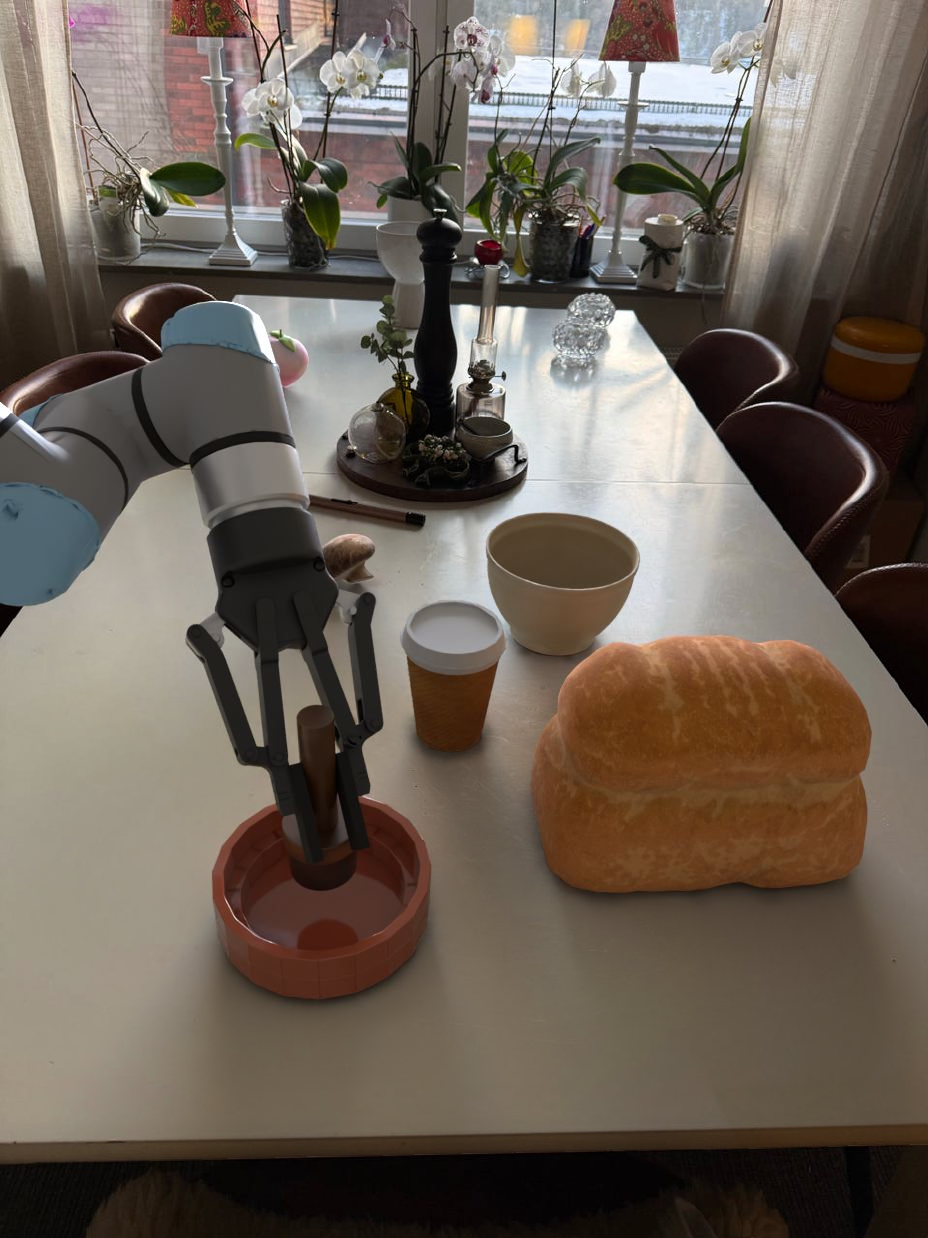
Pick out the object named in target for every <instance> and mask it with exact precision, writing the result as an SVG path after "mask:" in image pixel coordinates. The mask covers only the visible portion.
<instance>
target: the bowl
mask: <svg viewBox="0 0 928 1238" xmlns="http://www.w3.org/2000/svg"><path fill="white" fill-rule="evenodd" d="M337 795H338V793H337ZM358 798H359V802H360V806H361V810H362V815H363V819H364V823H365V827H366V831H367V835H368V839H369V843H370V847H369V848H366V849H363V850H357V867H356V870H355V873H354V874H353V876H352V877H351V879H350V880H349V881H348V882H346V883H345V884H344V885H342V886H340V887H338V888H335V889H332V890H328V891H314V890H310V889H307V888H304V887H302V886H301V885H299V884H298V883H297V882H296V881H295V880H294V878H293V877H292V874H291V871H290V861H289V853H288V851H287V850H286V848H285V846H284V842H283V831H282V820H283V817H282V816H281V814H280V813H279V811H278V810H277V805H276V802H275V803H272V804H269V805H267V806H265V807H263V808H262V809H260V810H258V811H257V812H255V813H254V814H253V815H251V816H250V817H248V818H247V819H245V820H243V821H242V822H241V823H239V825H238V826H237V827H236V828H235V829H234V831H233V832H232V833H231V834H230V836H229V837H228V838H227V839H226V840H225V842H223V844H222V845H221V846H220V847H221V848H220V850H219V853H218V855H217V858H216V860H215V863H214V865H213V868H212V870H211V885H212V887H211V888H212V904H213V910H214V916H215V924H216V930H217V937H218V939H219V942H220V943H221V946H222V948H223V950H224V952H225V954H226V956H227V958H228V960H229V962H230V963H231V964H232V965H233V966H235V968H236V969H237V970H239V972H241V973H242V974H243V975H244V976H245V977H246V978H247V979H249V981H250V982H252V983H253V984H254V985H257V986H259V987H261V988H263V989H267V991H268V990H269V991H271V992H274V993H276V994H278V995H280V996H282V997H290V998H301V999H308V1000H309V999H310V1000H324V999H330V998H335V997H341V996H346V995H351V994H352V995H353V994H356V993H359V992H361V991H364V990H365V989H368V988H370V987H372V986H374V985H376V984H378V983H380V982H382V981H384V980H386V979H388V978H389V977H391V975H393V973H394V972H396V970H398V969H399V967H401V966H402V965H403V964H404V963H405V962H407V961H408V960H409V958H411V957H412V956H413V954H414V952H415V950H416V948H417V947H418V945H419V943H420V941H421V939H422V937H423V936H424V934H425V932H426V929H427V927H428V919H429V911H430V904H431V882H432V863H431V858H430V855H429V852H428V848H427V843H426V841H425V839H424V838H423V837H422V835H421V834H420V833H419V831H418V830H417V829H416V827H415V826H414V825H413V823H412V822H411V820H410V819H408V817H406V816H405V815H403V814H401V813H400V812H399V811H398V810H396V809H394V808H393V807H392V806H390V805H389V804H388V803H385V802H382V801H379V800H376V799H373V798H371V797H367V796H365V795H362V796H359V797H358Z"/></svg>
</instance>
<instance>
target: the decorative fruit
mask: <svg viewBox="0 0 928 1238" xmlns="http://www.w3.org/2000/svg"><path fill="white" fill-rule="evenodd" d="M268 334H269V336H268V339H269V343H270V346H271V349H272V352H273V356H274V359H275V362H276V364H278V366H279V370H280V380H281V384H282V388H285V387H288V386H289V385H292V384H293V383H295V382H297V381H298V380H299V379H301V378H302V376H303V375H304V373H305V372H306V370H307V368H308V365H309V359H310V358H309V353H308V351H307V349H306V348H305V346H304V345H303V344H302V343H301V342H300V341H299V340H297V339H295V338H293V337H290V336H289V335H286V334H285V333H284V332H282V328H280V329H279V330H271V331H270V332H268Z"/></svg>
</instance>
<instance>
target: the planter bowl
mask: <svg viewBox="0 0 928 1238" xmlns="http://www.w3.org/2000/svg"><path fill="white" fill-rule="evenodd" d="M637 546H638V545H637V544H636V543H635V542H634V541H633V539H632V538H631V537H630V536H629V535H627V534H626V533H625V532H623V531H622V530H620V529H619V528H617V527H615V526H613V525H611V524H609V523H608V522H607V523H606V522H604V521H602V520H599V519H597V518H593V517H590V516H587V515H586V516H585V515H582V514H581V515H580V514H577V513H568V512H567V513H566V512H556V511H541V512H531V513H530V512H529V513H524V514H520V515H516V516H514V517H513V516H512V517H510V518H508V519H505V520H504V521H502V522H500V523H498V524H497V525H496V526H494V527H493V528H492V529H491V531H490V532H489V533H488V536H487V537H486V541H485V555H486V556H485V557H486V559H487V560H486V561H487V562H486V568H487V569H486V571H487V572H486V573H487V579H488V585H489V589H490V594H491V596H492V598H493V601H494V603H495V606H496V607H497V609H498V611H499V613H500V615H501V616H502V618H503V619H504V621H505V622H506V623H507V625H508V626H509V632H510V635H511V636H512V638H513V639H514V641H516V642H517V643H518V644H519V645H521V646H522V647H524V648H526V649H528V650H530V651H532V652H535V653H539V654H543V655H547V656H557V657H558V656H559V657H560V656H570V655H571V656H572V655H575V654H578V653H581V652H584V651H586V650H587V649H588V648H589V647H590V646H592V644H593V643H594V641H595V639H596V637H597V636H598V635H600V634H601V633H602V632H603V631H605V630H606V629H607V628H608V627H609V626H610V625H611V624H612V622H613V621H614V620H615V619H616V618H617V616H618V615H619V613H621V611H622V610H623V607H625V604H626V602H627V601H628V598H629V596H630V593H631V590H632V587H633V584H634V580H635V577H636V575H637V573H638V571H639V568H640V563H641V555H640V552H639V548H638V547H637Z"/></svg>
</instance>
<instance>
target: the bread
mask: <svg viewBox="0 0 928 1238" xmlns="http://www.w3.org/2000/svg"><path fill="white" fill-rule="evenodd" d="M872 736H873V731H872V728H871V723H870V719H869V716H868V712H867V710H866V708H865V705H864V703H863V701H862V700H861V698H860V696H859V695H858V693H857V692H856V690H855V689H854V687H853V686H852V685H851V684H850V682H849V681H848V679H847V678H846V676H845V675H844V674H843V672H841V670H840V669H839V668H838V667H837V666H836V665H835V664H834V663H833V662H832V661H831V660H830V659H829V658H828V657H827V656H826V655H825V654H824V653H822V652H820V651H819V650H817V649H815V648H813V647H812V646H810V645H807V644H804V643H802V642H799V641H795V640H792V639H783V640H782V639H781V640H780V639H779V640H768V641H763V642H758V643H757V642H753V641H751V640H748V639H743V638H738V637H734V636H730V635H724V634H723V635H675V636H669V637H668V636H667V637H664V638H659V639H656V640H653V641H650V642H647V643H642V644H638V645H636V644H632V643H628V642H623V641H614V642H611V643H608V644H607V645H604V646H602V647H599V648H597V649H596V650H595V651H594V652H593V653H591V654H590V655H589V656H587V657H586V658H584V659H583V660H582V661H581V662H580V663H579V664H577V665H576V666H575V667H574V668H573V669H572V670H571V672H570V673H569V674H568V675H567V677H566V678H565V679H564V682H563V683H562V685H561V687H560V690H559V693H558V697H557V712H556V713H555V715H553V717H552V718H551V719H550V720H549V721H548V723H547V724H546V726H545V727H544V728H543V729H542V731H541V733H540V736H539V737H538V740H537V743H536V746H535V750H534V756H533V761H532V768H531V771H530V774H531V775H530V792H531V798H532V799H531V800H532V803H533V804H532V805H533V809H534V815H535V819H536V823H537V827H538V831H539V834H540V839H541V842H542V847H543V852H544V856H545V861H546V866H547V867H548V869H549V870H550V871H551V873H553V874H554V875H555V876H557V877H558V878H559V879H561V880H562V881H564V882H565V883H567V884H568V885H570V886H571V887H572V888H577V889H581V890H586V891H591V892H595V893H617V894H627V893H632V892H639V891H640V892H641V891H642V892H668V891H679V892H690V891H697V890H706V889H711V888H715V887H718V886H719V887H720V886H722V885H727V884H732V883H738V882H739V883H743V884H745V885H750V886H753V887H757V888H764V889H782V888H790V887H800V886H809V885H817V884H825V883H829V882H833V881H838V880H840V879H844V878H845V877H847V876H848V875H849V874H850V873H851V872H853V871H854V869H856V868H857V867H858V866H859V865H860V864H861V861H862V858H863V855H864V847H865V840H866V834H867V826H868V802H867V795H866V790H865V787H864V784H863V781H862V778H861V773H863V772H864V771H865V770H866V768H867V764H868V761H869V757H870V754H871V745H872Z"/></svg>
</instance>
